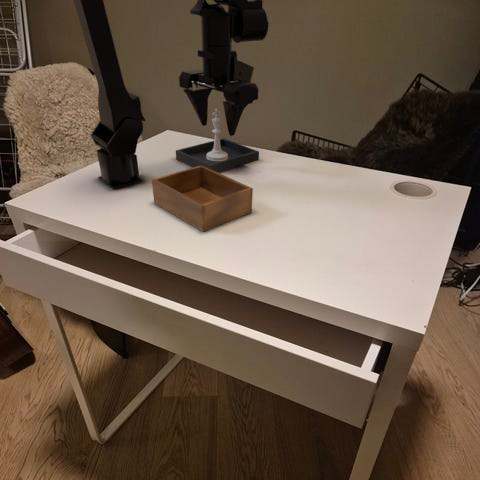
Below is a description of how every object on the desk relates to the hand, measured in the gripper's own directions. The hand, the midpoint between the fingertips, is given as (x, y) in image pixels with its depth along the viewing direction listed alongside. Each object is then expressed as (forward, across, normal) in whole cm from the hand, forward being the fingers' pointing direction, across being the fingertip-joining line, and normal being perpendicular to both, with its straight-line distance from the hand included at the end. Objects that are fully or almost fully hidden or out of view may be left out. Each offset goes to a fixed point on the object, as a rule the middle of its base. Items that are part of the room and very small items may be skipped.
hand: (217, 130), depth 90 cm
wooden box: (+6, -17, +18) cm, 26 cm away
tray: (+6, 0, 0) cm, 6 cm away
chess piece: (+6, 0, 0) cm, 6 cm away
